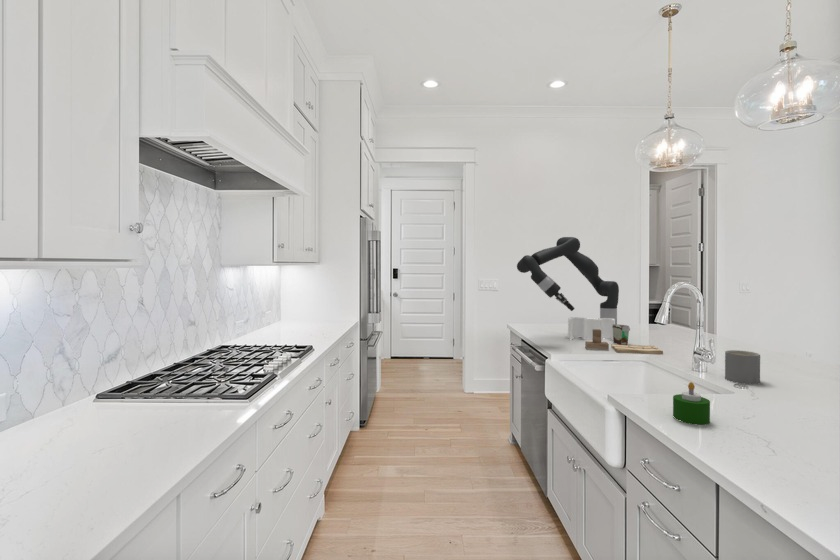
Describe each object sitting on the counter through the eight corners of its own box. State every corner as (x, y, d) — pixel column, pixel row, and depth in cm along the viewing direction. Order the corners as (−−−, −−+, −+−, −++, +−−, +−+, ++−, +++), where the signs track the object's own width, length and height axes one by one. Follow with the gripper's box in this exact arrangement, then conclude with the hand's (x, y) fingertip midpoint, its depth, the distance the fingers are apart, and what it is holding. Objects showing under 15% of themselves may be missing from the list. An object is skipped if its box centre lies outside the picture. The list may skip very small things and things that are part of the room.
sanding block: (585, 348, 213) (585, 328, 213) (606, 348, 211) (606, 329, 211) (587, 350, 207) (587, 330, 207) (608, 351, 205) (608, 330, 205)
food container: (634, 346, 216) (634, 327, 216) (622, 346, 217) (622, 327, 216) (623, 342, 229) (623, 324, 229) (612, 342, 229) (612, 324, 229)
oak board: (611, 347, 214) (611, 344, 214) (654, 348, 209) (654, 345, 209) (617, 352, 200) (617, 349, 200) (663, 354, 195) (663, 351, 195)
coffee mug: (763, 385, 142) (763, 356, 142) (727, 382, 147) (727, 354, 147) (754, 376, 154) (754, 349, 154) (721, 373, 159) (721, 347, 159)
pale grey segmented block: (613, 339, 240) (613, 318, 240) (616, 341, 231) (616, 320, 231) (567, 337, 248) (567, 317, 247) (568, 339, 238) (568, 318, 238)
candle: (675, 411, 117) (675, 376, 117) (711, 418, 112) (711, 381, 112) (670, 420, 111) (670, 382, 110) (708, 427, 105) (708, 388, 105)
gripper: (555, 281, 207) (579, 305, 204) (553, 281, 220) (576, 303, 218) (544, 292, 208) (568, 315, 205) (542, 291, 222) (565, 312, 219)
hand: (572, 309), depth 212 cm, fingers open, 8 cm apart
